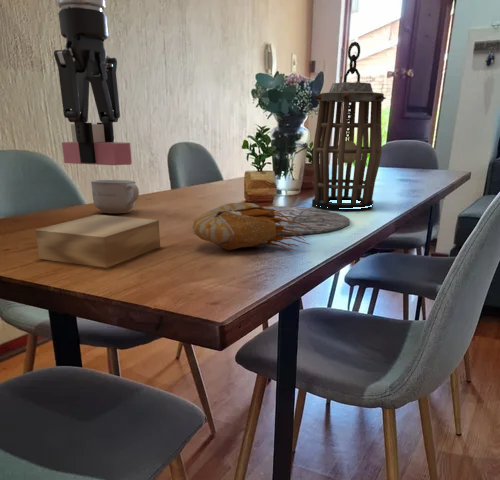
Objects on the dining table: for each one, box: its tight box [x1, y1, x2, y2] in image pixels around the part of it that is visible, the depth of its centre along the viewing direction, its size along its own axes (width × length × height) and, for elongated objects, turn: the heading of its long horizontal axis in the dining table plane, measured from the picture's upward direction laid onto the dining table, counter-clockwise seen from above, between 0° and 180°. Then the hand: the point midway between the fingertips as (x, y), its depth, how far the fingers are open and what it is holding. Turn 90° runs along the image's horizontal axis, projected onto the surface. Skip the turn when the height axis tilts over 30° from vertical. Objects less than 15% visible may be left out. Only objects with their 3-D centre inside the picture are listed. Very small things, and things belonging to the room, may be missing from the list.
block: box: [35, 214, 161, 269], centre depth 90 cm, size 14×16×5 cm
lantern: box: [311, 41, 387, 213], centre depth 133 cm, size 19×19×40 cm
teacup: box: [90, 179, 140, 214], centre depth 127 cm, size 14×11×8 cm
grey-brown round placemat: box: [264, 205, 351, 237], centre depth 121 cm, size 33×35×1 cm
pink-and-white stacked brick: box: [61, 123, 133, 166], centre depth 90 cm, size 12×5×6 cm, turn 68°
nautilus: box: [192, 202, 311, 252], centre depth 93 cm, size 8×22×15 cm
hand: (98, 161), depth 91 cm, fingers closed on pink-and-white stacked brick, 5 cm apart
